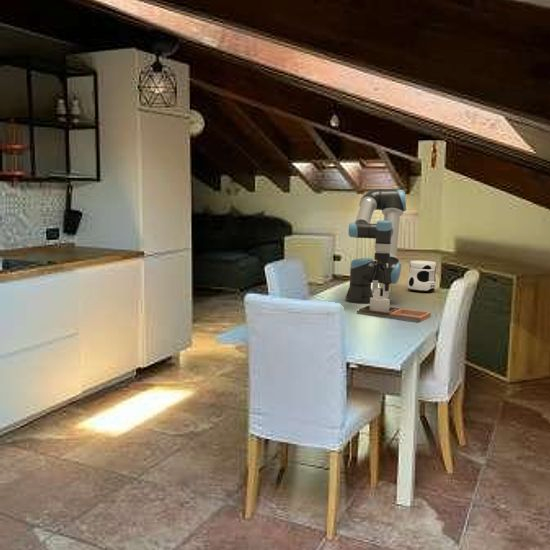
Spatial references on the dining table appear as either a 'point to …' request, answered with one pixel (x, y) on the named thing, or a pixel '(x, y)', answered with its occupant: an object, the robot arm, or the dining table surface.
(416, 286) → the milk container
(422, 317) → the frame
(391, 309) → the frame
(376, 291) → the medicine bottle
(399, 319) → the rail bar
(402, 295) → the dining table surface
